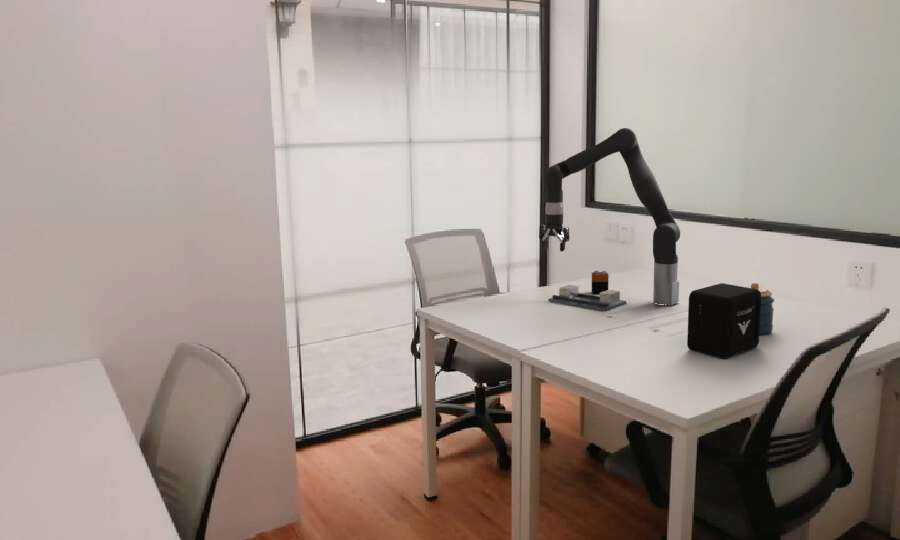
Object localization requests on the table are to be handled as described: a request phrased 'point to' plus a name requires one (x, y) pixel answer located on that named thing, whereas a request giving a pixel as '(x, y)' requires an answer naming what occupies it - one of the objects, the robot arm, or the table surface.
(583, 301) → the dark grey piece
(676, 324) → the table surface
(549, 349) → the table surface
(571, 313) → the table surface
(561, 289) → the block
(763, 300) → the canister
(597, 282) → the battery
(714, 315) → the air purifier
